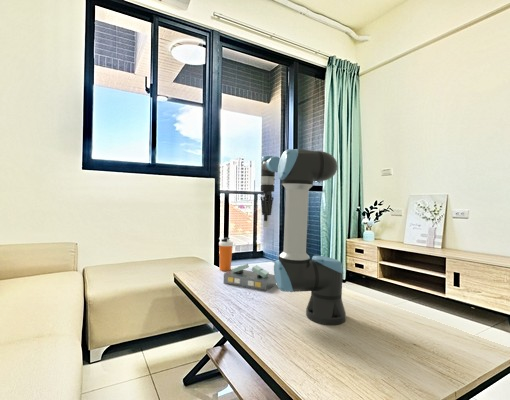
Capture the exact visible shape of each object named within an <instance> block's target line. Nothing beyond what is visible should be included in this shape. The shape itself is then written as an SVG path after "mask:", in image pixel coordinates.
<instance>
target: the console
mask: <svg viewBox="0 0 510 400" xmlns="http://www.w3.org/2000/svg"><path fill="white" fill-rule="evenodd" d="M223 284H227V285H233V286H236V287H243V288H248V289H252V290H257V291H263V292H267V291H268V290H270V289H271V288H273V287H275V286H277V284H276V280H275V275H274V274H272V273H269V274H268V276H267V277H265V278H264V277H262V276H260V275H259V274H257V273H255V272H253V271H252V270H246V269H243V270H240V271H237V272H234V273H233V271H232V270H229V271H226V272H225V273H223Z"/></svg>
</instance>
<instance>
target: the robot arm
mask: <svg viewBox="0 0 510 400" xmlns="http://www.w3.org/2000/svg"><path fill="white" fill-rule="evenodd" d="M337 171H338V162H337V160H336V158H335V157H334V156H333V154H330V153H329V152H326V151H322V150H310V149H309V150H308V149H299V148H295V149H291V148H290V149H289V148H288V149H286V150H284V151H283V153H282V154H281V155H280V157H279V156H273V155H265V156H261V172H260V173H261V175H260V176H261V177H260V184H261V185H260V192H262V196H260V202H261V205H260V206H261V215H262V216H263V228H269V227H270V216H271V215H272V211H273V210H272V209H273V203H274V197H273V194H272V192H274V193H275V185H274V184H275V181H276V177H275V175H276V173H277V179H279V181H281V182H282V183H281V185H282V186H283V187H284V188H285V201H284V202H285V205H284V207H285V208H284V226H283V227H284V231H283V232H284V233H283V251H282V252H281V253H280V254H279V256H278V257H279V258H278V259H277V260H275V261H274V263H273V275H275V280H276V286H277V288H278V290H279V291H281V292H284V293H296V292H311V293H310V297H309V300H308V303H307V305H306V308H305V309H306V310H305V315H306V317H307V318H308V319H309V320H310V321H313V322H315V323H317V324H321V325H327V326H329V325H330V326H331V325H332V326H334V325H335V326H337V325H341V324H344V323H345V322H346V321H347V319H346V318H347V313H346V309H345V306H344V303H343V299H342V295H343V275H344V271H343V270H344V269H343V263H342V261H340V260H338V259H336V258H333V257H328V256H323V255H313V256H312V258H310V257H311V256H310V255H309V254H308V253H307V236H308V233H307V232H308V216H309V215H308V212H309V211H308V210H309V190H310V189H311V188H312V187H313V186H314V182H323V181H324V182H325V181H328V180H330V179H332V178H333V177H334V176H335V174H336V173H337Z"/></svg>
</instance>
